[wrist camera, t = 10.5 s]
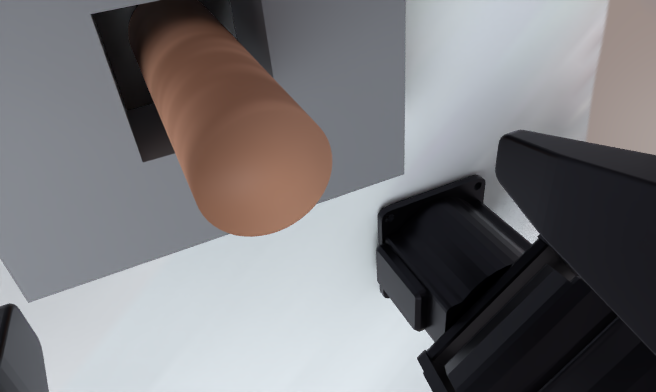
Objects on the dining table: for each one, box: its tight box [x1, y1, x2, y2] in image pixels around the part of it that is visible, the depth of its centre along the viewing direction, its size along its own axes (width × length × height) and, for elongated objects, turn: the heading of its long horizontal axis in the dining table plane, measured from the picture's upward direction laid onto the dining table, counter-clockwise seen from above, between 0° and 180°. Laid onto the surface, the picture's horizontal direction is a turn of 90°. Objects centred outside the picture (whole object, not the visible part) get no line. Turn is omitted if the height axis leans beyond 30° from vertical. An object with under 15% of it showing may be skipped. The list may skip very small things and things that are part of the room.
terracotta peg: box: [128, 0, 332, 236], centre depth 14 cm, size 3×3×10 cm
